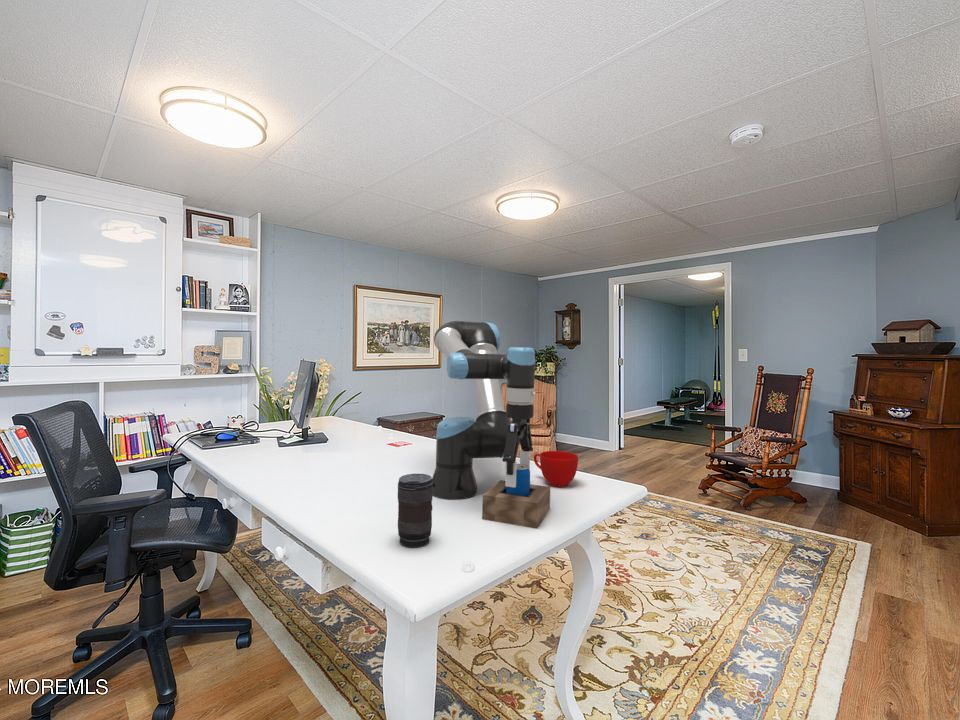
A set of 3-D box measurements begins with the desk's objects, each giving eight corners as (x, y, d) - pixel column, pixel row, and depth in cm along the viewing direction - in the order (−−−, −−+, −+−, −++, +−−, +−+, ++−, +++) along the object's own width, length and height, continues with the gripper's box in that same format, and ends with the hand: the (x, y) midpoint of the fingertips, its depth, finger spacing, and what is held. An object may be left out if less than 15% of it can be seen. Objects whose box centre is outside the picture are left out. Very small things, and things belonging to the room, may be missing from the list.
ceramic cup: (544, 474, 162) (545, 447, 162) (584, 484, 151) (585, 455, 150) (522, 480, 153) (523, 452, 153) (563, 492, 141) (564, 461, 141)
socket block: (482, 519, 117) (482, 494, 117) (500, 501, 131) (500, 480, 131) (536, 528, 112) (537, 503, 111) (549, 509, 126) (550, 486, 125)
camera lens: (398, 534, 106) (399, 472, 106) (432, 534, 107) (433, 472, 106) (394, 549, 98) (396, 482, 98) (431, 548, 99) (432, 482, 98)
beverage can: (531, 507, 123) (532, 464, 123) (526, 515, 117) (527, 470, 117) (509, 504, 125) (510, 462, 125) (502, 511, 119) (504, 467, 119)
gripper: (520, 409, 108) (518, 494, 108) (543, 399, 131) (541, 470, 131) (491, 407, 111) (489, 490, 111) (519, 398, 134) (517, 467, 134)
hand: (517, 479), depth 121 cm, fingers open, 13 cm apart
